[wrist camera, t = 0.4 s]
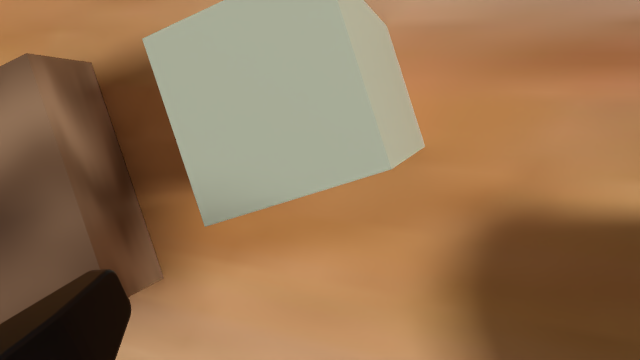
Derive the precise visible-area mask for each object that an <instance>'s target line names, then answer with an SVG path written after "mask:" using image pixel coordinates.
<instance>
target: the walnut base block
mask: <svg viewBox="0 0 640 360" xmlns="http://www.w3.org/2000/svg"><path fill="white" fill-rule="evenodd" d="M99 269H110V270H113V271H114V272H116V273H117V275H118V277H119V279H120V281H121V283H122V285H123V288H124V290H125V292H126V294H127V296H128V297H129V296H131V295H133V294H135V293H137V292H139V291H141V290H142V289H144V288H146V287H148V286H150V285H152V284H154V283H156V282H158V281H159V280H161V279H163V278H164V277H163V274H162V272H161V269H160V266H159V263H158V260H157V257H156V254H155V251H154V248H153V245H152V242H151V239H150V236H149V233H148V230H147V227H146V224H145V221H144V218H143V215H142V212H141V209H140V206H139V203H138V200H137V197H136V195H135V192H134V189H133V186H132V183H131V180H130V177H129V174H128V171H127V168H126V165H125V162H124V159H123V156H122V153H121V150H120V147H119V144H118V141H117V138H116V135H115V132H114V129H113V126H112V123H111V120H110V118H109V115H108V112H107V109H106V106H105V103H104V100H103V97H102V94H101V91H100V88H99V85H98V82H97V79H96V76H95V73H94V70H93V67H92V64H91V63H90V62H83V61H76V60H69V59H62V58H55V57H48V56H41V55H34V54H27V53H26V54H24V55H22V56H20V57H18V58H16V59H14V60H12V61H10V62H8V63H6V64H4V65H2V66H0V324H1V323H3V322H4V321H6V320H8V319H9V318H11V317H13V316H14V315H16V314H18V313H19V312H21V311H23V310H24V309H26V308H28V307H29V306H31V305H33V304H34V303H36V302H38V301H39V300H41V299H43V298H44V297H46V296H48V295H49V294H51V293H53V292H54V291H56V290H58V289H59V288H61V287H63V286H64V285H66V284H68V283H69V282H71V281H73V280H74V279H76V278H78V277H79V276H81V275H83V274H84V273H86V272H88V271H91V270H99Z"/></svg>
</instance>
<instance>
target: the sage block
mask: <svg viewBox="0 0 640 360" xmlns="http://www.w3.org/2000/svg"><path fill="white" fill-rule="evenodd" d="M142 40H143V43H144V46H145V49H146V52H147V55H148V58H149V61H150V64H151V67H152V70H153V73H154V76H155V79H156V82H157V85H158V88H159V91H160V94H161V97H162V100H163V103H164V106H165V109H166V112H167V115H168V118H169V121H170V124H171V127H172V130H173V133H174V136H175V139H176V142H177V145H178V148H179V151H180V154H181V157H182V160H183V163H184V166H185V169H186V172H187V175H188V178H189V181H190V184H191V187H192V190H193V193H194V196H195V199H196V202H197V205H198V208H199V211H200V214H201V217H202V220H203V223H204V226H205V227H206V226H209V225H212V224H215V223H219V222H222V221H225V220H228V219H232V218H235V217H238V216H241V215H245V214H248V213H251V212H254V211H258V210H261V209H264V208H267V207H271V206H274V205H277V204H280V203H284V202H287V201H290V200H293V199H297V198H300V197H303V196H306V195H309V194H313V193H316V192H319V191H322V190H326V189H329V188H332V187H335V186H339V185H342V184H345V183H348V182H352V181H355V180H358V179H361V178H365V177H368V176H371V175H374V174H378V173H381V172H384V171H387V170H391V169H393V168H394V167H396V166H397V165H399V164H400V163H401V162H403V161H404V160H406V159H407V158H409V157H410V156H412V155H413V154H415V153H416V152H418V151H419V150H421V149H422V148H424V147H425V145H424V141H423V138H422V135H421V132H420V129H419V126H418V123H417V119H416V116H415V113H414V110H413V107H412V104H411V101H410V98H409V94H408V91H407V88H406V85H405V82H404V79H403V76H402V72H401V69H400V66H399V63H398V60H397V57H396V54H395V51H394V47H393V44H392V41H391V38H390V35H389V32H388V29H387V26H386V25H385V24H384V23H383V21H382V20H381V19H380V18H379V17H378V16H377V15H376V14H375V12H374V11H373V10H372V9H371V8H370V7H369V6H368V5H367V3H366V2H365V1H364V0H224V1H221V2H219V3H217V4H215V5H213V6H211V7H209V8H207V9H204V10H202V11H200V12H198V13H196V14H194V15H192V16H190V17H187V18H185V19H183V20H181V21H179V22H177V23H175V24H173V25H170V26H168V27H166V28H164V29H162V30H160V31H158V32H156V33H153V34H151V35H149V36H147V37H145V38H143V39H142Z"/></svg>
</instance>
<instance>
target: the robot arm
mask: <svg viewBox="0 0 640 360" xmlns="http://www.w3.org/2000/svg"><path fill="white" fill-rule="evenodd" d="M130 315H131V304H130V301H129V298H128V296H127V294H126V292H125V290H124V288H123V285H122V283H121V281H120V279H119V277H118V275H117V273H116V272H114V271H113V270H110V269H99V270H91V271H88V272H86V273H84V274H83V275H81V276H79V277H78V278H76V279H74V280H73V281H71V282H69V283H68V284H66V285H64V286H63V287H61V288H59V289H58V290H56V291H54V292H53V293H51V294H49V295H48V296H46V297H44V298H43V299H41V300H39V301H38V302H36V303H34V304H33V305H31V306H29V307H28V308H26V309H24V310H23V311H21V312H19V313H18V314H16V315H14V316H13V317H11V318H9V319H8V320H6V321H4V322H3V323H1V324H0V360H115V359H116V356H117V353H118V350H119V347H120V345H121V342H122V339H123V336H124V333H125V330H126V327H127V324H128V321H129V318H130Z"/></svg>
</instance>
